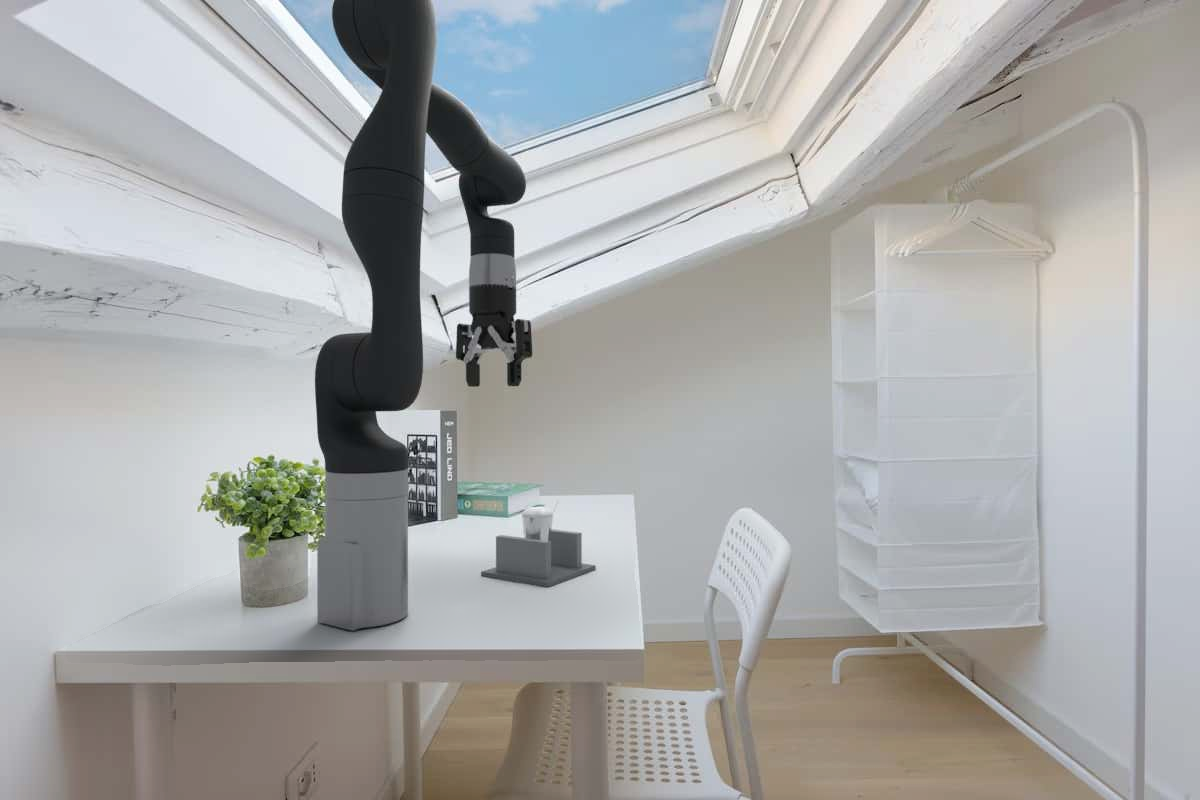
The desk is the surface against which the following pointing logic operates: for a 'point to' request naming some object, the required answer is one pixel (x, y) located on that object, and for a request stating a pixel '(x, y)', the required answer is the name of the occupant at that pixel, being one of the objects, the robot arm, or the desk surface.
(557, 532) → the cradle
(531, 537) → the milkshake
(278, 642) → the desk surface
